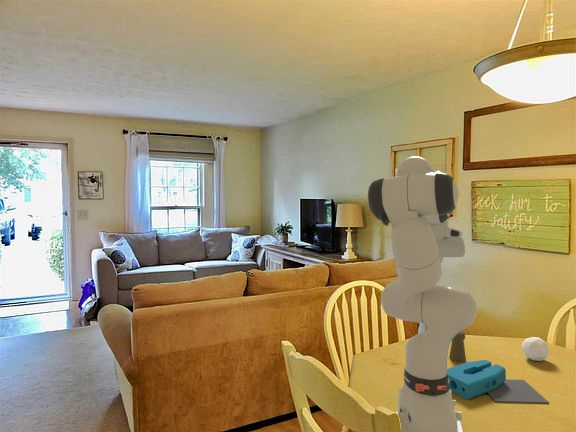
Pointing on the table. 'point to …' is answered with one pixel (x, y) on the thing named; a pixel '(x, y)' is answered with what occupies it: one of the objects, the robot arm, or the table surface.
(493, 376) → the block
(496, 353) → the table surface
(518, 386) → the mat
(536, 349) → the white faceted ball
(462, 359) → the cork
